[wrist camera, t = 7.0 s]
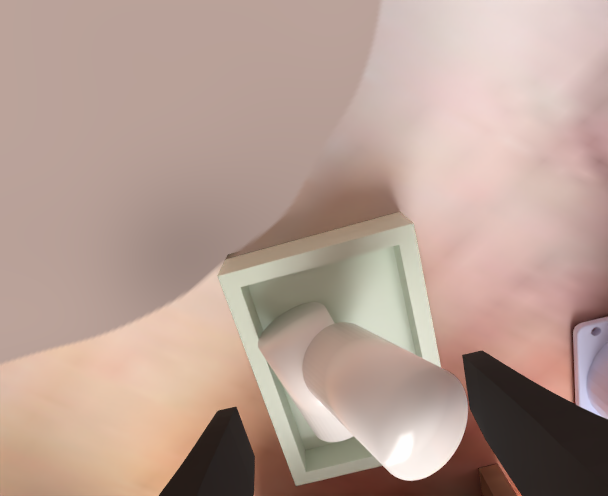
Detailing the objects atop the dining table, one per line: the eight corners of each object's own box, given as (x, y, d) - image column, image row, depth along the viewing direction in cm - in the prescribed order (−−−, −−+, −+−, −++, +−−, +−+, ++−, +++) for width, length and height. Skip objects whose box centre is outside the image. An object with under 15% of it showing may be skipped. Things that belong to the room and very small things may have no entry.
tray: (396, 208, 20) (413, 223, 17) (436, 409, 24) (456, 448, 21) (227, 254, 20) (217, 276, 18) (295, 443, 24) (296, 486, 22)
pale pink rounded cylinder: (351, 451, 17) (292, 357, 16) (299, 431, 20) (244, 349, 18) (389, 389, 19) (340, 301, 18) (337, 379, 22) (291, 302, 21)
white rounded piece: (385, 367, 18) (481, 426, 13) (326, 418, 17) (406, 503, 12) (353, 306, 17) (444, 345, 12) (287, 356, 16) (358, 422, 11)
